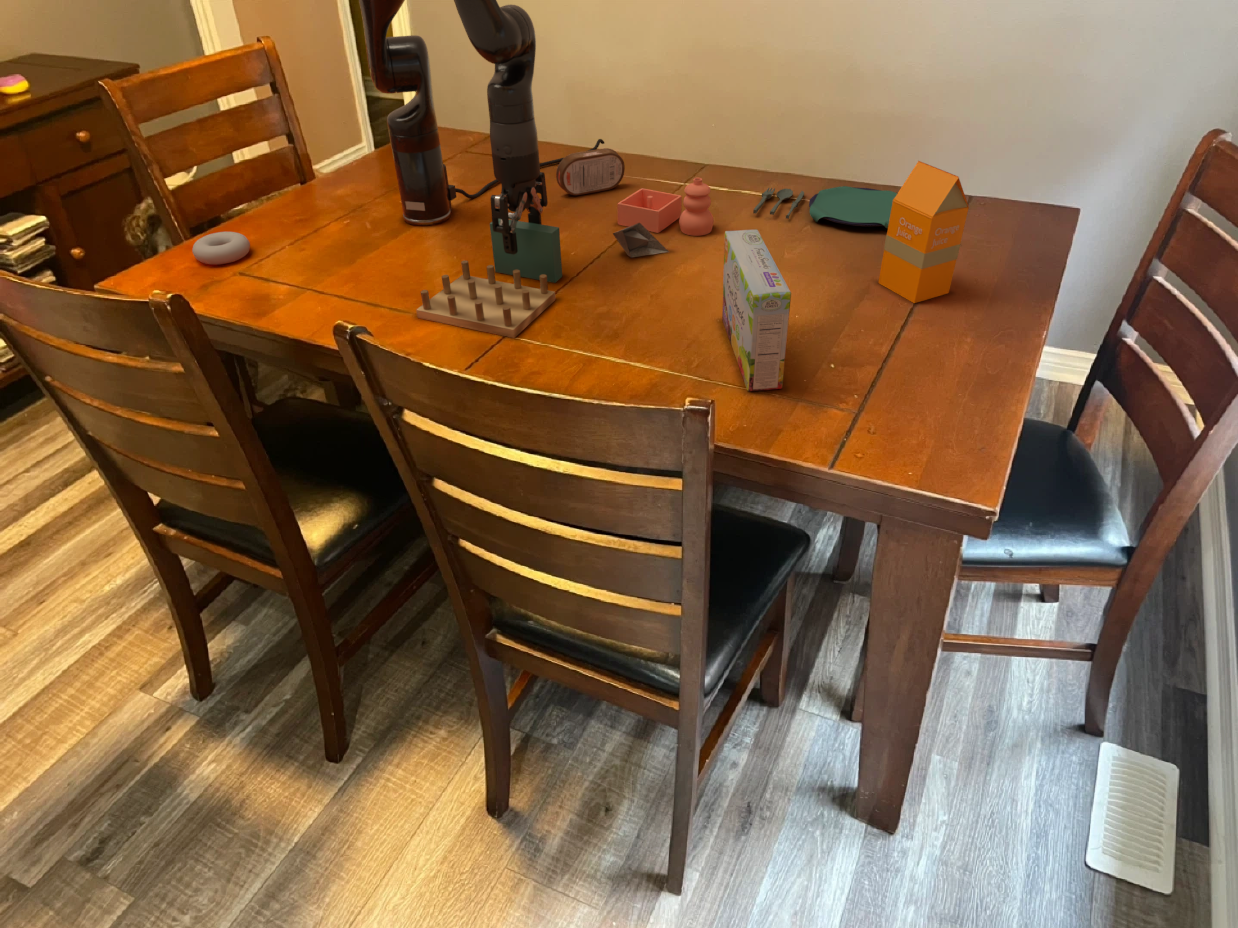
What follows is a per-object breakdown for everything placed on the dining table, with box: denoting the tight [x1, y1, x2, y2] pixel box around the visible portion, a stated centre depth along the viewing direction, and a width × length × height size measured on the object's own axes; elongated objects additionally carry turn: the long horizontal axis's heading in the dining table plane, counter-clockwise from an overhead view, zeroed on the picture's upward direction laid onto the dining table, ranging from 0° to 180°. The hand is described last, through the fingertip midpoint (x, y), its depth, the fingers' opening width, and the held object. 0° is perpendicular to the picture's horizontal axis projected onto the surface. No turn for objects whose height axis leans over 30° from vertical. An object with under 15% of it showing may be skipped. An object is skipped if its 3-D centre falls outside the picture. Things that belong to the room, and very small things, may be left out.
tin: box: [555, 147, 626, 196], centre depth 180 cm, size 15×3×8 cm, turn 115°
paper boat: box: [612, 223, 670, 258], centre depth 154 cm, size 12×6×9 cm
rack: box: [415, 259, 556, 339], centre depth 139 cm, size 14×18×4 cm
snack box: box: [721, 228, 792, 392], centre depth 123 cm, size 21×6×15 cm, turn 5°
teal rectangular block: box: [489, 219, 563, 284], centre depth 148 cm, size 3×12×9 cm, turn 66°
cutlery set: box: [752, 185, 898, 229], centre depth 170 cm, size 20×30×2 cm, turn 69°
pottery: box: [616, 177, 714, 237], centre depth 164 cm, size 18×10×10 cm, turn 59°
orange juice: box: [877, 160, 970, 304], centre depth 137 cm, size 8×9×20 cm
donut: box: [191, 231, 251, 266], centre depth 158 cm, size 10×4×10 cm
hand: (523, 243), depth 147 cm, fingers open, 8 cm apart
